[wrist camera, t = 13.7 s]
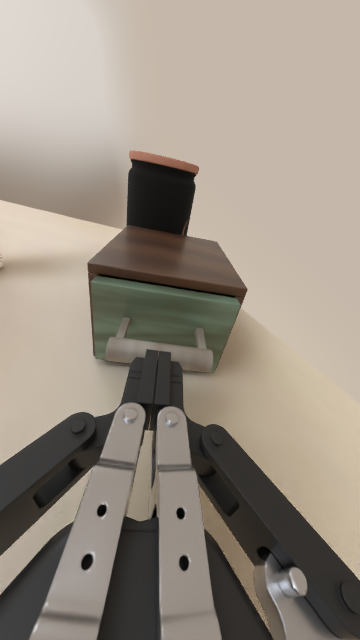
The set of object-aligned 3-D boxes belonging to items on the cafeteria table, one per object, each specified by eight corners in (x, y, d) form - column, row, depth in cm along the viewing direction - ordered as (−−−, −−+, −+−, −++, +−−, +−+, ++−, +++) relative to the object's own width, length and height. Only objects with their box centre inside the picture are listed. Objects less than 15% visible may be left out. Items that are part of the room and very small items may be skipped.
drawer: (222, 413, 17) (259, 340, 13) (76, 399, 16) (63, 313, 11) (200, 301, 32) (213, 251, 28) (126, 289, 31) (128, 236, 27)
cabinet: (215, 370, 22) (248, 289, 17) (93, 356, 21) (87, 262, 15) (201, 300, 35) (217, 241, 30) (125, 288, 34) (128, 224, 28)
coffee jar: (185, 284, 39) (210, 168, 29) (127, 281, 36) (133, 148, 26) (171, 263, 47) (186, 167, 37) (122, 259, 44) (126, 152, 34)
